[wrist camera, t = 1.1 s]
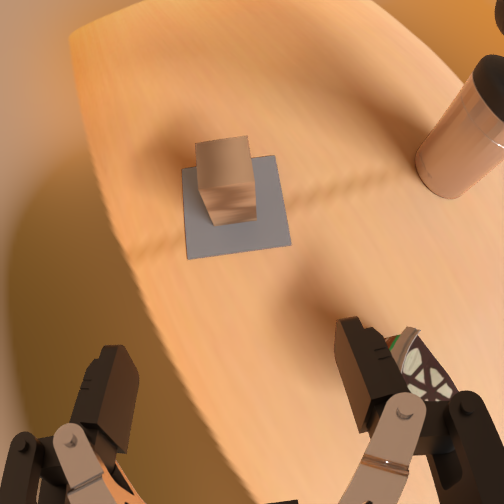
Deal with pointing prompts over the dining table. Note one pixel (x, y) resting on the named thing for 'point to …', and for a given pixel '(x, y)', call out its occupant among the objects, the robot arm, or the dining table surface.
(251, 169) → the walnut block
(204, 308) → the dining table surface
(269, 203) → the tile
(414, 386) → the food container
